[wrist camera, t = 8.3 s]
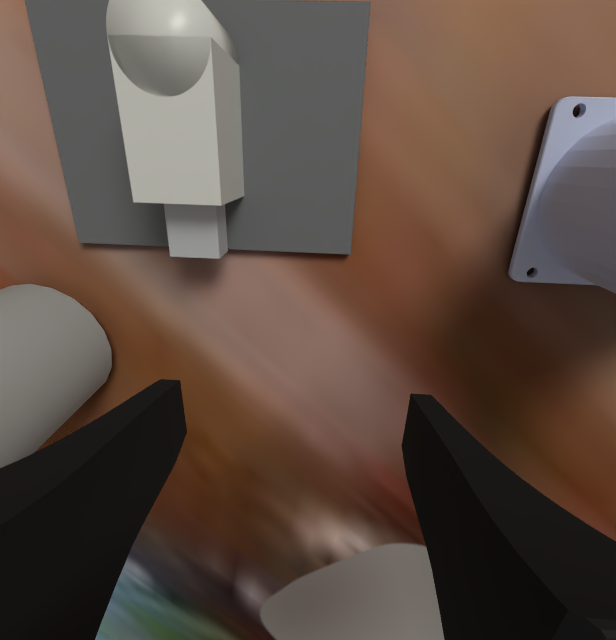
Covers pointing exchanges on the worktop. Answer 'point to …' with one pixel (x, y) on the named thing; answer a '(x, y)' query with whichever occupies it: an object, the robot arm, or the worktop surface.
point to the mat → (256, 117)
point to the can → (45, 365)
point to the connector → (179, 116)
